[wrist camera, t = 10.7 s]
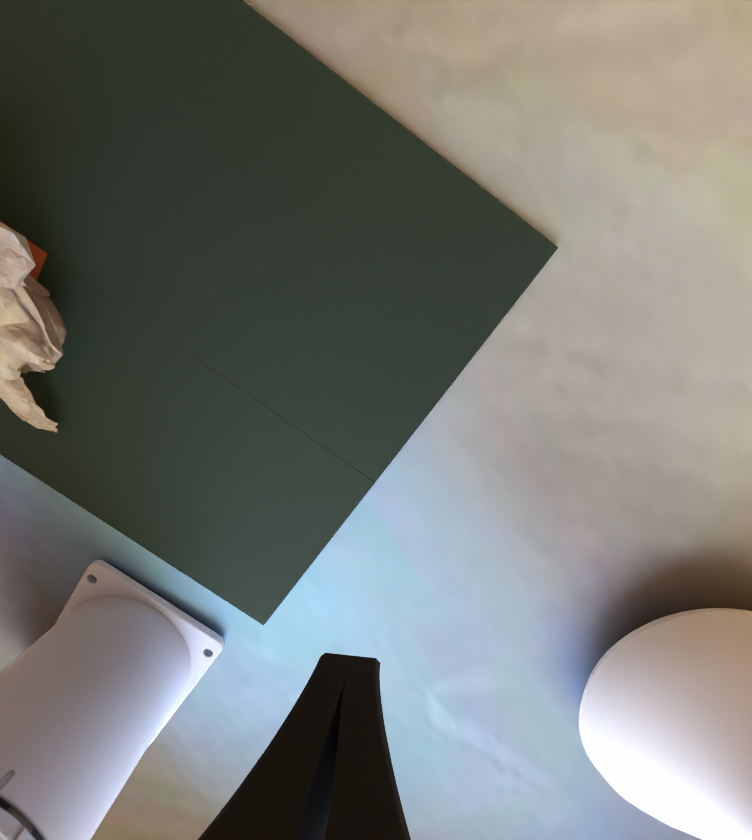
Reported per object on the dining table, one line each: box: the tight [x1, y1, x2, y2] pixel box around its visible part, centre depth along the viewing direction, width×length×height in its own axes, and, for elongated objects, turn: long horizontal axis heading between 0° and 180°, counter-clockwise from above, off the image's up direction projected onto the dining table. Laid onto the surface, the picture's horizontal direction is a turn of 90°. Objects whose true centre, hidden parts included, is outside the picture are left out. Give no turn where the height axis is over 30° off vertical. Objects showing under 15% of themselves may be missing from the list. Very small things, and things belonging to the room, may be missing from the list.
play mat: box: [0, 0, 558, 625], centre depth 17 cm, size 22×28×1 cm
